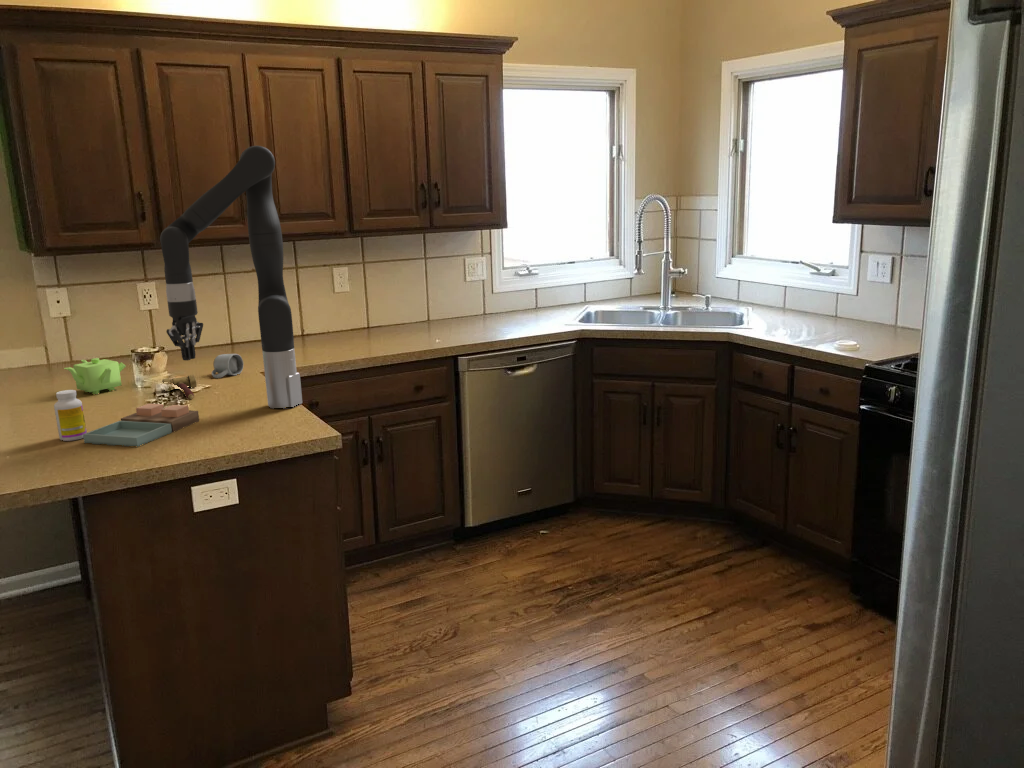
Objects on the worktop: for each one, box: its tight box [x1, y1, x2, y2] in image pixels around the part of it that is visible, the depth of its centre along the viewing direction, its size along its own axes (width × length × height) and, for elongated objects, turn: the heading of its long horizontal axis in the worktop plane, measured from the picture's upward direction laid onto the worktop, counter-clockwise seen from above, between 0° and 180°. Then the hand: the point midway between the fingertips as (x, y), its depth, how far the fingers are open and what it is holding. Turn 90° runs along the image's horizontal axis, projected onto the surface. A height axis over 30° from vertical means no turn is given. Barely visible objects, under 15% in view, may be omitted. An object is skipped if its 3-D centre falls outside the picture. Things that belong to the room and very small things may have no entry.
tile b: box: [135, 403, 165, 416], centre depth 230 cm, size 5×5×2 cm
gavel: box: [161, 374, 198, 400], centre depth 265 cm, size 21×5×10 cm
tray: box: [82, 420, 173, 448], centre depth 217 cm, size 17×13×2 cm
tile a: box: [161, 404, 189, 417], centre depth 228 cm, size 5×5×2 cm
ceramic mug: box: [211, 353, 244, 379], centre depth 290 cm, size 11×8×8 cm
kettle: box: [63, 357, 127, 395], centre depth 272 cm, size 15×14×11 cm
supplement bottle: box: [53, 389, 88, 442], centre depth 218 cm, size 7×7×13 cm
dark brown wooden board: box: [120, 410, 200, 433], centre depth 229 cm, size 17×11×3 cm, turn 73°
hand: (189, 359), depth 232 cm, fingers closed
